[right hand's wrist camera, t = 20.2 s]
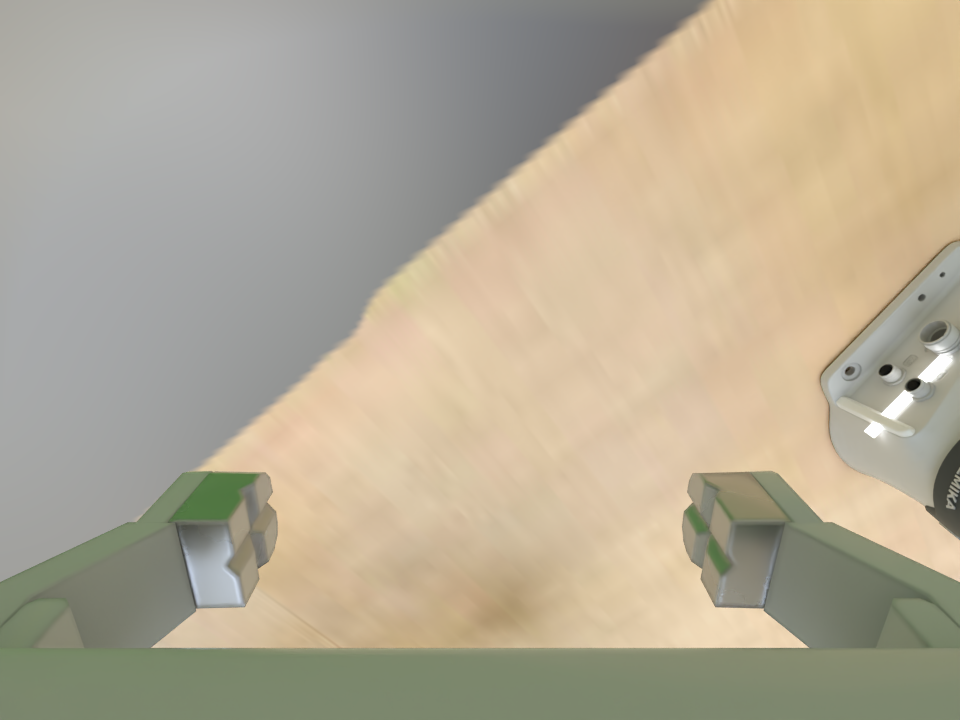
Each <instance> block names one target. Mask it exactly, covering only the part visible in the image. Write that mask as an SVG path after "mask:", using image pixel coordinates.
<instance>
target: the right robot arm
mask: <svg viewBox="0 0 960 720" xmlns="http://www.w3.org/2000/svg"><path fill="white" fill-rule="evenodd" d="M848 367H850V369H849V370H848V371H847V372H845V370H846V369H847V368H848ZM821 387H822V390H823V392H824V394H825V396H826V399H827V400H828V402H829V406H830V419H829V430H830V437H831V441H832V444H833V446H834V448H835V450H836V452H837V454H838V455H839V457H840V458H841V459H842V460H843V461H844V462H845V463H846V464H847V465H848V466H850V467H851V468H853V469H854V470H856V471H858V472H860V473H862V474H865V475H868V476H871V477H873V478H876V479H878V480H880V481H882V482H884V483H887V484H888V485H890V486H892V487H894V488H896V489H898V490H899V491H901V492H903V493H904V494H906V495H908V496H909V497H911V498H913V499H914V500H916V501H918V502H919V503H921V504H922V505H924V506H925V508H926V510H927V511H928V512H929V513H930V514H931V515H932V516H933V517H935V518H936V519H937V520H938V521H939V524H941V525H942V526H943V527H944V528H945V529H947V530H948V531H949V532H950V533H951V534H953V535H954V536H955V537H956V538H958V539H959V540H960V241H957V242H953V243H951V244H949V245H948V246H947V247H946V248H945V249H943V250H942V251H941V252H940V253H939V254H938V255H937V256H936V257H935V258H934V259H933V261H932V262H931V263H930V264H929V265H928V266H927V267H926V268H925V269H924V270H923V271H922V272H921V273H920V274H919V275H918V276H917V277H916V278H915V279H914V280H913V281H912V282H911V283H910V284H909V285H908V286H907V287H906V288H905V289H904V290H903V291H902V292H901V293H900V294H899V295H898V296H897V297H896V298H895V299H894V300H893V301H892V302H891V303H890V304H889V305H888V306H887V307H886V309H885V310H884V311H883V312H882V313H881V314H880V315H879V316H878V317H877V318H876V319H875V320H874V321H873V322H872V323H871V324H870V325H869V326H868V327H867V328H866V329H865V330H864V331H863V332H862V333H861V334H860V335H859V336H858V337H857V338H856V339H855V340H854V341H853V342H852V343H851V344H850V345H849V346H848V347H847V348H846V349H845V350H844V351H843V352H842V353H841V354H840V355H839V357H838V358H837V359H836V360H835V361H834V362H833V363H832V364H831V365H830V366H829V367H828V368H827V369H826V370H825V371H824V372H823V374H822V376H821ZM272 493H273V490H272V485H271V480H270V477H269V476H268V475H267V474H266V473H263V472H212V471H191V472H186V473H182V474H181V475H180V476H179V478H178V479H177V480H176V481H175V482H174V483H173V484H172V485H171V486H170V487H169V488H168V489H167V490H166V491H165V492H164V494H163V495H162V496H161V497H160V498H159V499H158V500H157V501H156V502H155V503H154V504H153V505H152V506H151V507H150V508H149V509H148V511H147V512H146V513H145V514H144V515H143V516H142V517H141V518H140V519H139V520H138V521H137V522H128V523H125V524H123V525H121V526H119V527H117V528H115V529H113V530H111V531H108V532H106V533H104V534H102V535H100V536H98V537H96V538H93V539H91V540H89V541H87V542H85V543H83V544H81V545H79V546H76V547H74V548H72V549H70V550H68V551H66V552H64V553H61V554H59V555H57V556H55V557H53V558H51V559H49V560H46V561H44V562H42V563H40V564H38V565H36V566H34V567H32V568H29V569H27V570H25V571H23V572H21V573H19V574H17V575H15V576H12V577H10V578H8V579H6V580H4V581H2V582H0V720H960V582H958V581H956V580H954V579H952V578H949V577H947V576H945V575H943V574H941V573H939V572H937V571H935V570H932V569H930V568H928V567H926V566H924V565H922V564H920V563H918V562H915V561H913V560H911V559H909V558H907V557H905V556H903V555H901V554H898V553H896V552H894V551H892V550H890V549H888V548H886V547H883V546H881V545H879V544H877V543H875V542H873V541H871V540H869V539H866V538H864V537H862V536H860V535H858V534H856V533H854V532H852V531H849V530H847V529H845V528H843V527H841V526H839V525H837V524H835V523H832V522H823V521H822V520H821V519H820V518H819V517H818V516H817V515H816V514H815V513H814V512H813V510H812V509H811V508H810V507H809V506H808V505H807V504H806V503H805V502H804V501H803V500H802V499H801V498H800V497H799V496H798V495H797V493H796V492H795V491H794V490H793V489H792V488H791V487H790V486H789V485H788V484H787V483H786V482H785V481H784V480H783V479H782V477H781V476H780V475H779V474H777V473H775V472H773V471H757V472H731V473H693V474H692V476H691V478H690V480H689V484H688V490H687V493H688V494H689V496H690V498H691V499H692V501H693V503H692V504H691V505H690V506H689V507H688V508H687V509H686V510H685V511H684V516H683V524H682V531H683V541H684V545H685V548H686V551H687V554H688V556H689V558H690V560H691V562H693V563H694V564H696V565H697V566H699V567H700V568H702V574H701V581H702V583H703V585H704V587H705V588H706V590H707V592H708V594H709V596H710V598H711V600H712V602H713V604H714V606H715V607H729V608H764V611H765V612H766V613H767V614H768V615H770V616H771V617H772V618H773V619H775V620H776V621H777V622H778V623H780V624H781V625H782V626H783V627H785V628H786V629H787V630H788V631H789V632H791V633H792V634H793V635H794V636H796V637H797V638H798V639H799V640H801V641H802V642H803V643H804V644H806V645H807V646H808V647H809V648H151V647H152V646H153V645H155V644H156V643H157V642H158V641H160V640H161V639H162V638H163V637H165V636H166V635H167V634H168V633H169V632H171V631H172V630H173V629H174V628H176V627H177V626H178V625H179V624H181V623H182V622H183V621H184V620H186V619H187V618H188V617H189V616H191V615H192V614H193V613H194V612H195V611H196V608H230V607H245V606H246V604H247V602H248V600H249V598H250V596H251V594H252V592H253V590H254V589H255V587H256V585H257V583H258V581H259V574H258V568H260V567H261V566H263V565H264V564H266V563H267V562H269V560H270V558H271V555H272V553H273V551H274V548H275V544H276V539H277V533H278V522H277V515H276V511H275V510H274V509H273V508H272V507H271V506H270V505H269V504H268V503H267V501H268V499H269V498H270V496H271V494H272Z"/></svg>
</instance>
